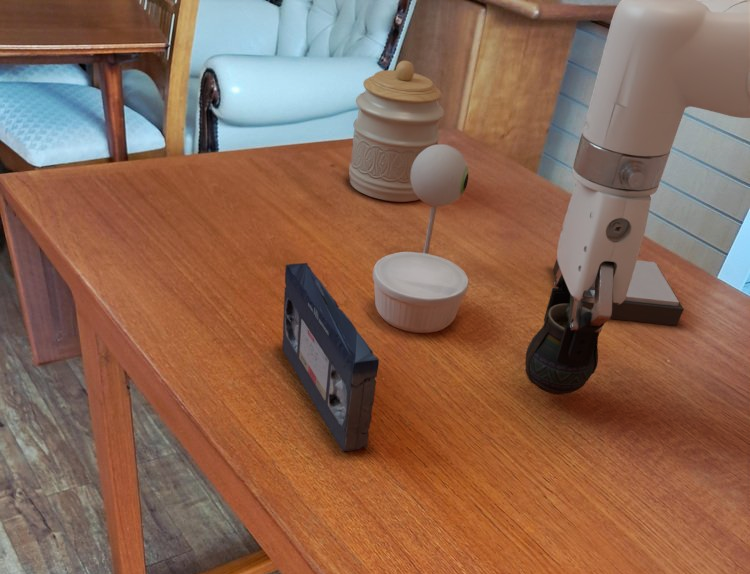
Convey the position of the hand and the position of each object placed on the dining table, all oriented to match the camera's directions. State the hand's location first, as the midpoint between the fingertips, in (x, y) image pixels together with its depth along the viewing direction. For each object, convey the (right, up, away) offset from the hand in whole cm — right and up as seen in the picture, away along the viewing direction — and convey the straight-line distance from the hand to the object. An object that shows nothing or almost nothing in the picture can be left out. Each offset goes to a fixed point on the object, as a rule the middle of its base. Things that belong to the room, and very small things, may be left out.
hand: (565, 341), depth 80 cm
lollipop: (-13, +15, +25) cm, 32 cm away
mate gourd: (0, -4, +4) cm, 5 cm away
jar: (-17, +33, +43) cm, 57 cm away
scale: (+12, +11, +24) cm, 29 cm away
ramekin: (-15, +6, +15) cm, 21 cm away
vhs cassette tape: (-25, -6, 0) cm, 25 cm away
